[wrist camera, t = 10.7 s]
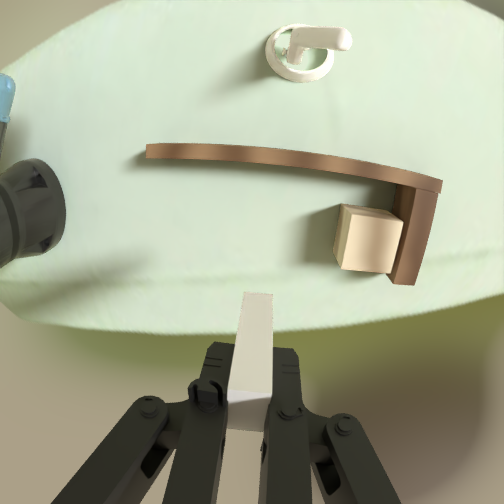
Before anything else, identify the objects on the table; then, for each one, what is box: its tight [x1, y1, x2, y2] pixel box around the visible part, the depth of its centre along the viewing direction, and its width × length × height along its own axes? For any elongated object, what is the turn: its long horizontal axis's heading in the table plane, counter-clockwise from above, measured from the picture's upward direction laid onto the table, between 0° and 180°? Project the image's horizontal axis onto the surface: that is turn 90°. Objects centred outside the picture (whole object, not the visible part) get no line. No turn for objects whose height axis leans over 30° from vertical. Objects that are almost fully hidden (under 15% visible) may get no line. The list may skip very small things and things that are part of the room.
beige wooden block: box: [333, 204, 403, 273], centre depth 30 cm, size 6×6×5 cm
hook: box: [265, 24, 352, 82], centre depth 22 cm, size 8×12×7 cm
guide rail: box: [146, 143, 443, 286], centre depth 29 cm, size 32×12×5 cm, turn 85°
